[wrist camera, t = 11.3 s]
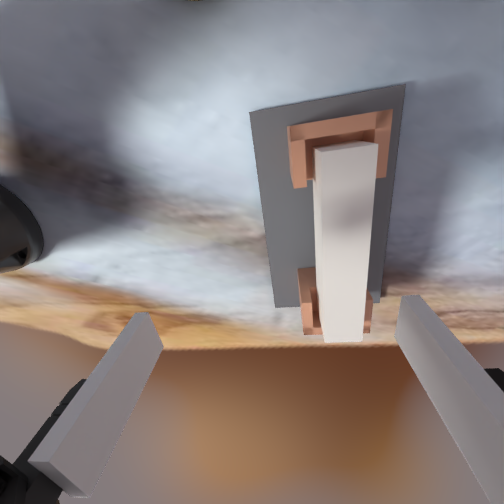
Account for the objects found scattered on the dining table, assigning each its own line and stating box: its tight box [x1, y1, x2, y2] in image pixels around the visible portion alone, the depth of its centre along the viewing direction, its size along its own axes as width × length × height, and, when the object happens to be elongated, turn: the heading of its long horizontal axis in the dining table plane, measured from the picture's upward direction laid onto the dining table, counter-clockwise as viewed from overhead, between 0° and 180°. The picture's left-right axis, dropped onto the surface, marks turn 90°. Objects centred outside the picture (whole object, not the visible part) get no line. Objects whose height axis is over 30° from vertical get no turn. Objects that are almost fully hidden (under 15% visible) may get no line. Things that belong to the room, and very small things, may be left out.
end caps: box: [249, 84, 406, 335], centre depth 28 cm, size 16×28×9 cm, turn 8°
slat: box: [312, 140, 378, 343], centre depth 24 cm, size 4×20×6 cm, turn 9°
